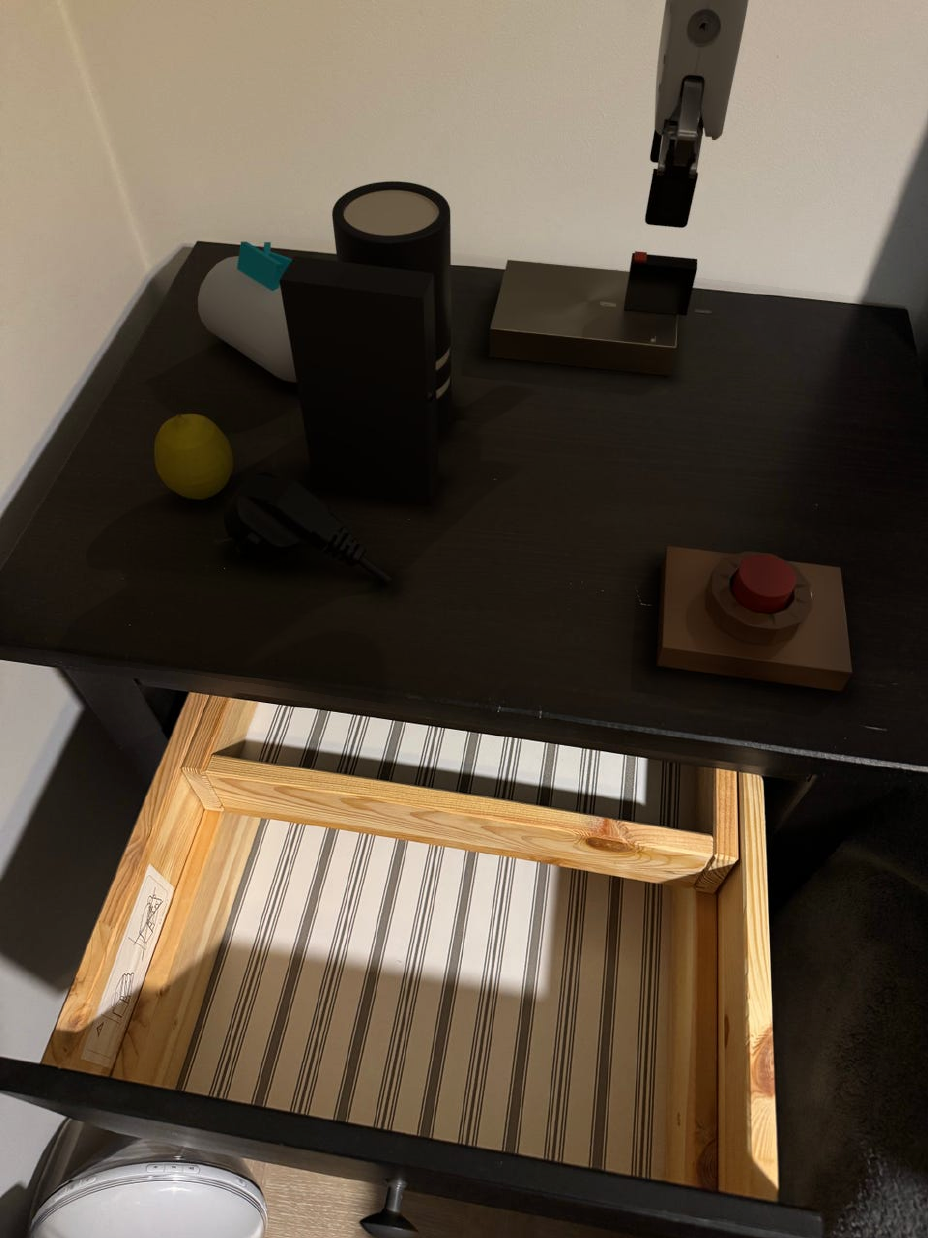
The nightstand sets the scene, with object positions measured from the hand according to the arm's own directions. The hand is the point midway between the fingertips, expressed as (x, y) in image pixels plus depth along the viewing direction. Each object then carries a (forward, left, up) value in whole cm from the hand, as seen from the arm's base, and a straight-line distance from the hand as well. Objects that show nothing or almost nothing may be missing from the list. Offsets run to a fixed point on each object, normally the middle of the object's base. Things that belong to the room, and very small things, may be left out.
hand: (667, 191), depth 72 cm
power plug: (+22, +31, -14) cm, 41 cm away
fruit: (+32, +26, -14) cm, 44 cm away
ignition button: (-9, +32, -10) cm, 34 cm away
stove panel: (+4, 0, -14) cm, 14 cm away
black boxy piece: (-1, 0, -11) cm, 11 cm away
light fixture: (+19, +17, -14) cm, 29 cm away
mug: (+30, +7, -14) cm, 34 cm away
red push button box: (-9, +32, -14) cm, 36 cm away
